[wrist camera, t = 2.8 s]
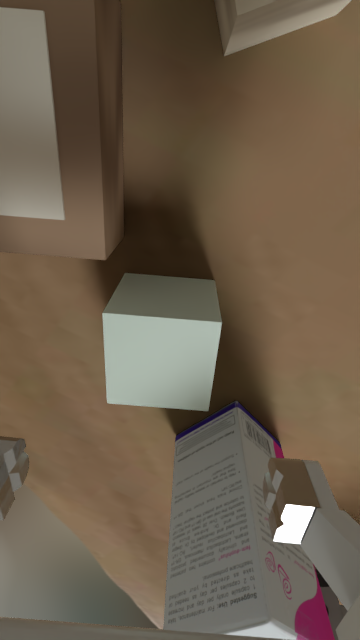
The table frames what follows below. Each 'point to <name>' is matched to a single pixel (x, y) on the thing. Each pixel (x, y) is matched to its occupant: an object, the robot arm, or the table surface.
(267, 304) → the table surface
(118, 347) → the sage block
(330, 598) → the figurine
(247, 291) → the table surface
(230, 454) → the supplement box
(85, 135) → the walnut base
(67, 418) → the table surface
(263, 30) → the block
